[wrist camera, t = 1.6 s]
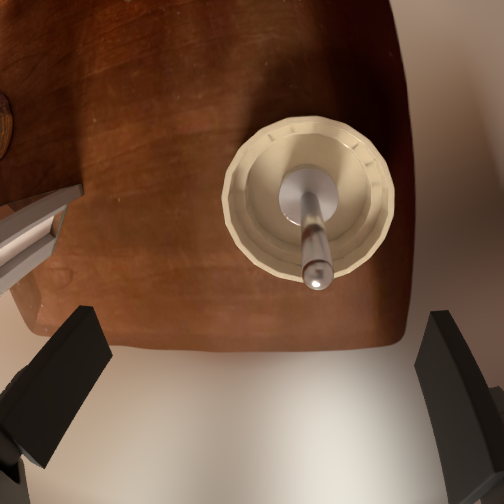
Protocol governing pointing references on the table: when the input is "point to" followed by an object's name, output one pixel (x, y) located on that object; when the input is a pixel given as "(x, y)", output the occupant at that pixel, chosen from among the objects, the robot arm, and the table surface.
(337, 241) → the mixing bowl
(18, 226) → the cabinet
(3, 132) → the bell
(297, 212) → the rod with disc base
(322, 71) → the table surface
